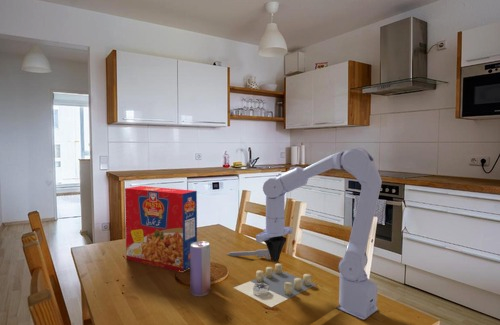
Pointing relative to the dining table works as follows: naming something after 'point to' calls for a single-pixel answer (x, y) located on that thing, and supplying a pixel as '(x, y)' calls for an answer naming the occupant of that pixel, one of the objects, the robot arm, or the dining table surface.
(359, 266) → the robot arm
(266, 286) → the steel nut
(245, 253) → the caliper
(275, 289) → the board
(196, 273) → the beverage can
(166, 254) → the pasta box
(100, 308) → the dining table surface
